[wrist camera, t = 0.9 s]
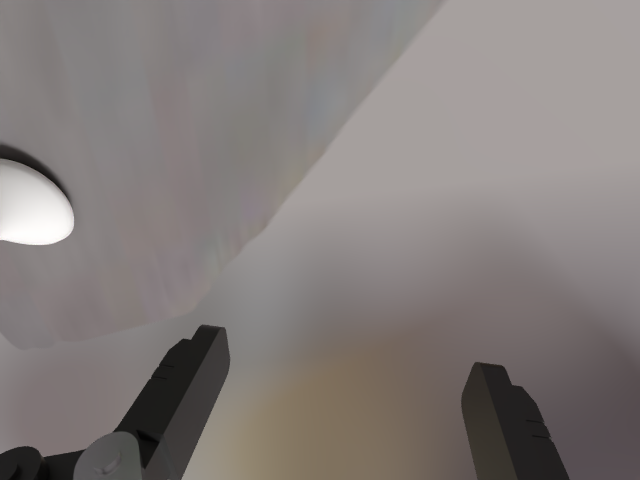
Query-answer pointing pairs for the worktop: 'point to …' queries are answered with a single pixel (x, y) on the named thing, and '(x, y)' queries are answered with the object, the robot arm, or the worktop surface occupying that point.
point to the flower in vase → (32, 206)
